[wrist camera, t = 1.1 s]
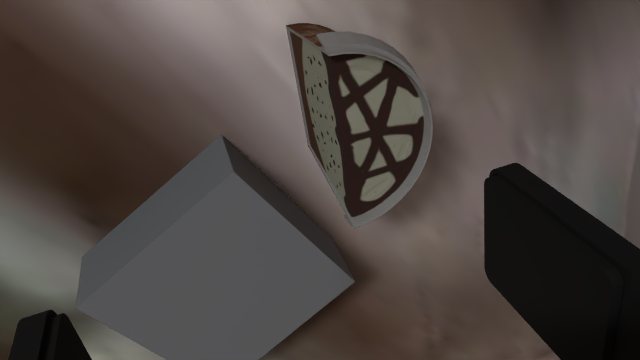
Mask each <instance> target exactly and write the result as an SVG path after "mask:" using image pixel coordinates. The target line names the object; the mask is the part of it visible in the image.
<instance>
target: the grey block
mask: <svg viewBox="0 0 640 360" xmlns="http://www.w3.org/2000/svg"><path fill="white" fill-rule="evenodd" d="M354 282H355V280H354V279H353V277H352V275H351V273H350V271H349V269H348V267H347V266H346V264H345V262H344V260H343V258H342V256H341V254H340V253H339V251H338V249H337V247H336V245H335V243H334V241H333V239H331V238H330V237H329V236H328V235H327V234H326V233H325V232H324V231H323V230H322V229H321V228H320V227H319V226H318V225H317V224H316V223H314V222H313V221H312V220H311V219H310V218H309V217H308V216H307V215H306V214H305V213H304V212H303V211H302V210H301V209H300V208H299V207H298V206H296V205H295V204H294V203H293V202H292V201H291V200H290V199H289V198H288V197H287V196H286V195H285V194H284V193H283V192H282V191H281V190H280V189H278V188H277V187H276V186H275V185H274V184H273V183H272V182H271V181H270V180H269V179H268V178H267V177H266V176H265V175H264V174H263V173H261V172H260V171H259V170H258V169H257V168H256V167H255V166H254V165H253V164H252V163H251V162H250V161H249V160H248V159H247V158H246V157H245V156H243V155H242V154H241V153H240V152H239V151H238V150H237V149H236V148H235V147H234V146H233V145H232V144H231V143H230V142H229V141H228V140H227V139H225V138H224V137H223V136H222V135H220V136H219V137H218V138H217V139H216V140H215V141H214V142H212V143H211V144H210V145H209V146H208V147H207V148H206V149H204V150H203V151H202V152H201V153H200V154H199V155H198V156H196V157H195V158H194V159H193V160H192V161H191V162H190V163H189V164H187V165H186V166H185V167H184V168H183V169H182V170H181V171H179V172H178V173H177V174H176V175H175V176H174V177H173V178H171V179H170V180H169V181H168V182H167V183H166V184H165V185H163V186H162V187H161V188H160V189H159V190H158V191H157V192H155V193H154V194H153V195H152V196H151V197H150V198H149V199H148V200H146V201H145V202H144V203H143V204H142V205H141V206H140V207H138V208H137V209H136V210H135V211H134V212H133V213H132V214H130V215H129V216H128V217H127V218H126V219H125V220H124V221H122V222H121V223H120V224H119V225H118V226H117V227H116V228H114V229H113V230H112V231H111V232H110V233H109V234H108V235H106V236H105V237H104V238H103V239H102V240H101V241H100V242H99V243H97V244H96V245H95V246H94V247H93V248H92V249H91V250H89V251H88V252H87V253H86V254H85V255H84V256H83V257H82V262H81V270H80V278H79V286H78V293H77V301H76V309H77V310H79V311H81V312H83V313H84V314H86V315H88V316H90V317H92V318H93V319H95V320H97V321H99V322H100V323H102V324H104V325H106V326H108V327H109V328H111V329H113V330H115V331H117V332H118V333H120V334H122V335H124V336H125V337H127V338H129V339H131V340H133V341H134V342H136V343H138V344H140V345H142V346H143V347H145V348H147V349H149V350H150V351H152V352H154V353H156V354H158V355H159V356H161V357H163V358H165V359H167V360H259V359H260V358H261V357H263V356H264V355H265V354H266V353H267V352H269V351H270V350H271V349H272V348H274V347H275V346H276V345H277V344H279V343H280V342H281V341H282V340H284V339H285V338H286V337H287V336H289V335H290V334H291V333H292V332H293V331H295V330H296V329H297V328H298V327H300V326H301V325H302V324H303V323H305V322H306V321H307V320H308V319H310V318H311V317H312V316H313V315H314V314H316V313H317V312H318V311H319V310H321V309H322V308H323V307H324V306H326V305H327V304H328V303H329V302H331V301H332V300H333V299H334V298H336V297H337V296H338V295H339V294H340V293H342V292H343V291H344V290H345V289H347V288H348V287H349V286H350V285H352V284H353V283H354Z"/></svg>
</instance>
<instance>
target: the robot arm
mask: <svg viewBox="0 0 640 360" xmlns="http://www.w3.org/2000/svg"><path fill="white" fill-rule="evenodd" d="M484 246H485V272H486V275H487V277H488V279H489V281H490V282H491V283H492V284H493V286H494V287H495V288H496V289H497V290H498V291H499V292H500V293H501V294H502V295H503V297H504V298H505V299H506V300H507V301H508V302H509V303H510V304H511V305H512V306H513V308H514V309H515V310H516V311H517V312H518V313H519V314H520V315H521V316H522V317H523V319H524V320H525V321H526V322H527V323H528V324H529V325H530V326H531V327H532V328H533V329H534V331H535V332H536V333H537V334H538V335H539V336H540V337H541V338H542V339H543V340H544V342H545V343H546V344H547V345H548V346H549V347H550V348H551V349H552V350H553V351H554V353H555V354H556V355H557V356H558V357H559V358H560V359H561V360H640V249H639V248H637V247H636V246H635V245H633V244H632V243H630V242H628V240H626V239H625V238H623V237H622V236H620V235H619V234H618V233H616V232H615V231H613V230H612V229H611V228H609V227H608V226H606V225H605V224H604V223H602V222H601V221H599V220H598V219H596V218H595V217H594V216H592V215H591V214H589V213H588V212H587V211H585V210H584V209H582V208H581V207H580V206H578V205H577V204H575V203H574V202H573V201H571V200H570V199H568V198H567V197H565V196H564V195H563V194H561V193H560V192H558V191H557V190H556V189H554V188H553V187H551V186H550V185H549V184H547V183H546V182H544V181H543V180H541V179H540V178H539V177H537V176H536V175H534V174H533V173H532V172H530V171H529V170H527V169H526V168H525V167H523V166H522V165H520V164H518V163H512V164H509V165H506V166H503V167H499V168H496V169H493V170H492V171H491V172H490V175H489V178H487V179H485V182H484ZM8 360H92V359H91V357H90V355H89V354H88V352H87V350H86V348H85V347H84V345H83V343H82V341H81V339H80V338H79V336H78V334H77V332H76V330H75V329H74V327H73V325H72V323H71V322H70V320H69V318H68V317H67V315H66V314H64V313H62V314H59V315H57V314H56V313H55V312H54V311H53V310H48V311H45V312H42V313H38V314H35V315H32V316H29V317H26V318H23V319H21V320H20V321H19V323H18V326H17V329H16V333H15V337H14V341H13V344H12V348H11V352H10V356H9V359H8Z"/></svg>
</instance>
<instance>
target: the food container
mask: <svg viewBox="0 0 640 360" xmlns="http://www.w3.org/2000/svg"><path fill="white" fill-rule="evenodd" d="M286 28H287V34H288V39H289V45H290V50H291V56H292V61H293V66H294V72H295V77H296V83H297V88H298V94H299V99H300V104H301V110H302V115H303V121H304V126H305V131H306V137H307V142H308V147H309V148H310V150H311V152H312V154H313V156H314V157H315V159H316V161H317V163H318V165H319V166H320V168H321V170H322V172H323V174H324V175H325V177H326V179H327V181H328V183H329V184H330V186H331V188H332V190H333V192H334V194H335V195H336V197H337V199H338V201H339V203H340V204H341V206H342V208H343V210H344V212H345V213H346V215H344V217H345V219H346V220H347V221H348V223H349V224H350V225H351V226H353V227H354V228H357V227H360V226H362V225H365V224H367V223H369V222H371V221H373V220H375V219H377V218H378V217H380V216H381V215H383V214H384V213H386V212H387V211H389V210H390V209H391V208H392V207H394V206H395V205H396V204H397V203H398V202H399V201H400V200H401V199H402V198H403V197H404V196H405V195H406V194H407V193H408V192H409V190H410V189H411V188H412V186H413V185H414V184H415V182H416V181H417V179H418V178H419V176H420V174H421V172H422V170H423V168H424V166H425V164H426V161H427V158H428V155H429V152H430V147H431V142H432V133H433V122H432V113H431V105H430V102H429V99H428V95H427V92H426V90H425V88H424V86H423V84H422V82H421V80H420V79H419V77H418V75H417V74H416V72H415V70H414V69H413V67H412V66H411V65H410V64H409V62H408V61H407V60H406V59H405V57H404V56H402V55H401V54H400V53H399V52H398V51H397V50H396V49H394V48H393V47H391V46H390V45H388V44H386V43H385V42H383V41H381V40H379V39H376V38H374V37H371V36H368V35H365V34H359V33H353V32H336V31H334V30H331V29H329V28H327V27H324V26H321V25H316V24H309V23H298V24H291V25H286Z"/></svg>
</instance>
